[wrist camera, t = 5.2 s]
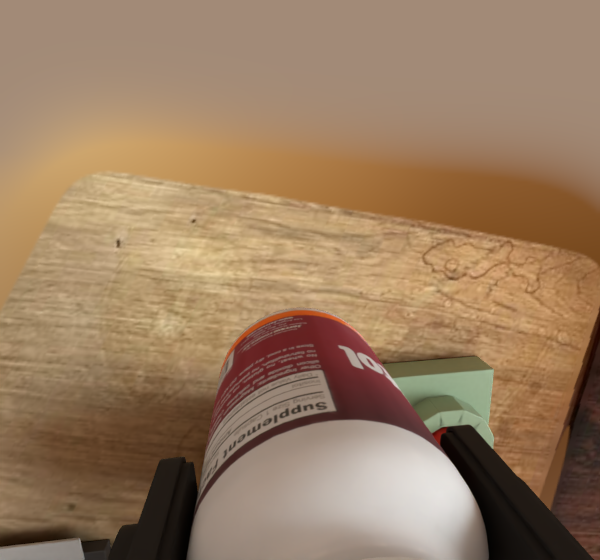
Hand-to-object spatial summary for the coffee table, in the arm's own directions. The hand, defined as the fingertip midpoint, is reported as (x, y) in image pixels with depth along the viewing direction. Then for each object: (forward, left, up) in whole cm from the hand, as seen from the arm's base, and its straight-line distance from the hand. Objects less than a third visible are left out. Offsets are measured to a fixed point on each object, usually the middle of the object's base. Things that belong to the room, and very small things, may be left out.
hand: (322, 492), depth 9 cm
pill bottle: (0, 0, -6) cm, 6 cm away
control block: (+11, +11, -17) cm, 23 cm away
